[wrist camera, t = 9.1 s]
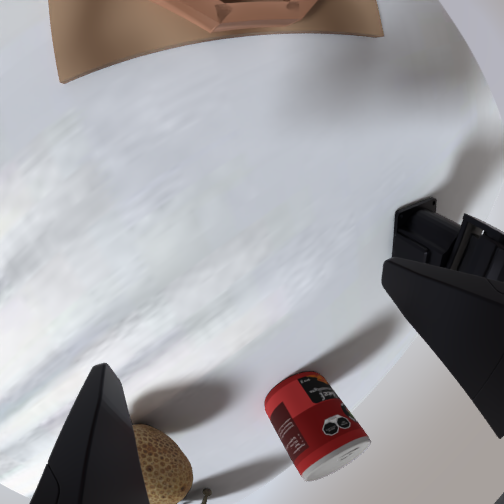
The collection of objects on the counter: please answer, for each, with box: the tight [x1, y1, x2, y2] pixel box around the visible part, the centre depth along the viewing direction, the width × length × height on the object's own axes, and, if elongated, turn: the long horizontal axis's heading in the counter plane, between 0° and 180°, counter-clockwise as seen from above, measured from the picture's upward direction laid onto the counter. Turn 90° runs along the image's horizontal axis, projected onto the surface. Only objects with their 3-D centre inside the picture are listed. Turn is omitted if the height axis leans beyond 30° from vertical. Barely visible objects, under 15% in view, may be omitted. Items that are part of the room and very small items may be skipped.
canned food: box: [265, 371, 371, 481], centre depth 28 cm, size 8×8×11 cm
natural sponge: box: [132, 424, 193, 504], centre depth 22 cm, size 9×9×10 cm
